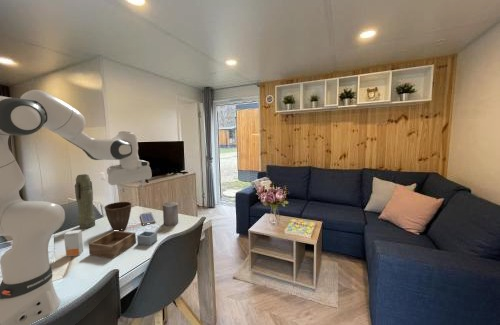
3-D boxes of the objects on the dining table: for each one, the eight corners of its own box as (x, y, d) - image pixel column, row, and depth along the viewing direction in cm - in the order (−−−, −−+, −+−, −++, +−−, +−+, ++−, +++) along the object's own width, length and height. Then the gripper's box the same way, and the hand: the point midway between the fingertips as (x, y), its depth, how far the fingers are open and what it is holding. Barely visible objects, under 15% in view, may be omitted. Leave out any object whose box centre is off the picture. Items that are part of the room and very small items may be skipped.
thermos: (100, 222, 153) (95, 173, 149) (88, 229, 142) (83, 176, 137) (87, 222, 153) (82, 173, 149) (74, 230, 141) (68, 176, 137)
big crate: (112, 258, 108) (111, 246, 108) (89, 254, 111) (88, 243, 111) (136, 242, 124) (135, 232, 123) (115, 240, 127) (114, 230, 126)
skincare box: (65, 257, 109) (63, 234, 108) (70, 252, 114) (67, 230, 112) (80, 255, 111) (77, 232, 110) (83, 251, 115) (81, 229, 114)
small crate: (150, 245, 121) (149, 237, 120) (137, 244, 122) (137, 235, 122) (157, 240, 126) (156, 232, 126) (145, 239, 128) (144, 231, 128)
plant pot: (137, 224, 149) (136, 202, 147) (123, 234, 135) (121, 209, 133) (117, 223, 151) (115, 201, 149) (100, 233, 136) (98, 208, 134)
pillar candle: (162, 221, 154) (161, 201, 152) (177, 219, 159) (176, 199, 157) (164, 227, 146) (163, 205, 144) (179, 224, 150) (178, 203, 148)
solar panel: (142, 226, 148) (142, 223, 148) (140, 215, 168) (139, 213, 167) (155, 223, 152) (155, 220, 152) (151, 213, 172) (151, 211, 171)
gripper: (108, 167, 102) (111, 195, 104) (152, 161, 117) (154, 187, 119) (104, 165, 106) (107, 193, 108) (146, 160, 121) (148, 185, 123)
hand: (132, 190), depth 114 cm, fingers open, 8 cm apart
